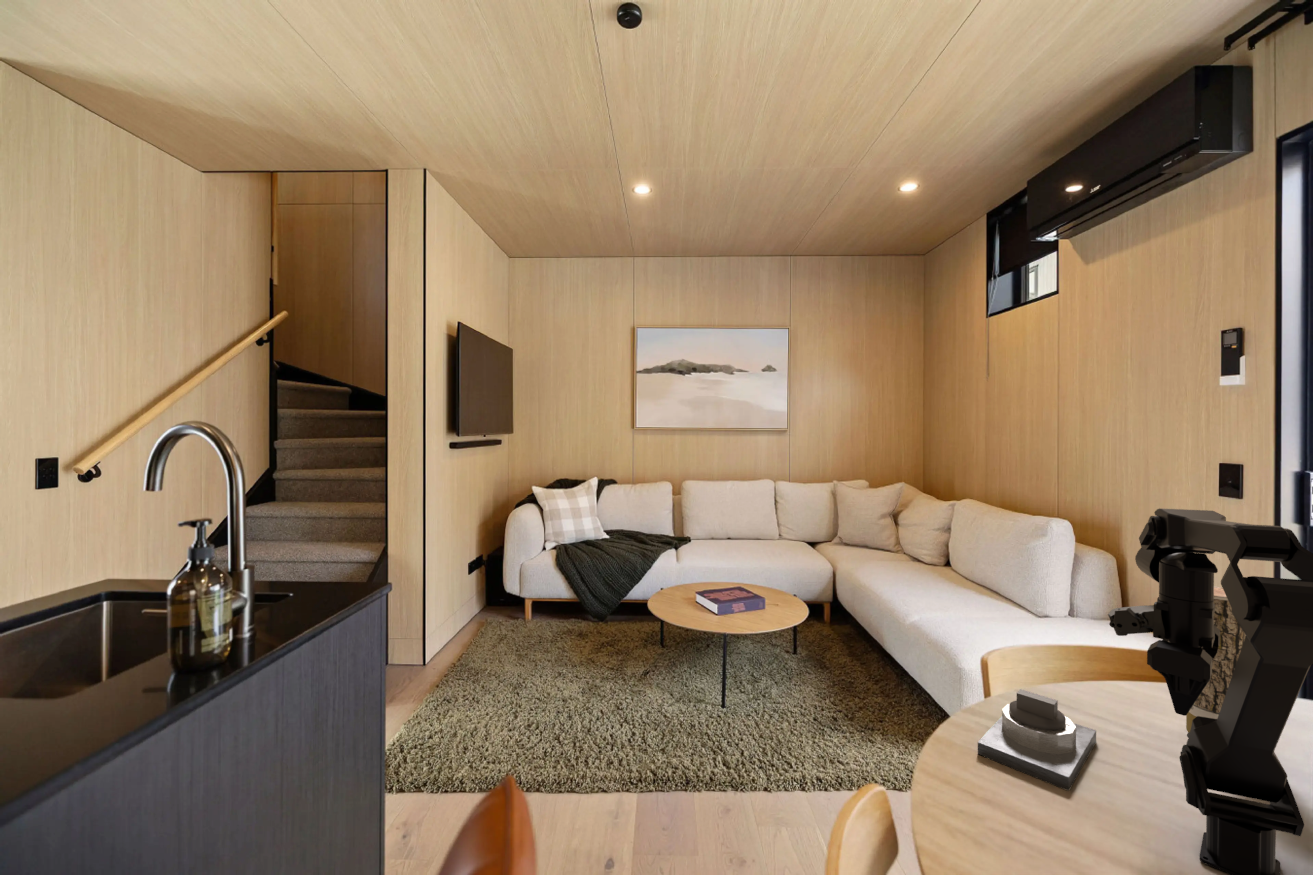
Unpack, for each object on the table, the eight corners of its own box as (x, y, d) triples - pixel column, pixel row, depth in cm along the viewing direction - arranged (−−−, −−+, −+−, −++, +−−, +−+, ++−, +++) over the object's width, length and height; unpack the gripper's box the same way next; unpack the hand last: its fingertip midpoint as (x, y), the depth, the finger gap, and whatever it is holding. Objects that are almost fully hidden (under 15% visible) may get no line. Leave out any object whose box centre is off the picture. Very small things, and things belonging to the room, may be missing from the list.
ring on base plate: (1068, 790, 79) (1068, 756, 79) (977, 754, 88) (977, 723, 88) (1096, 741, 91) (1096, 712, 91) (1013, 714, 100) (1013, 687, 100)
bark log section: (1195, 745, 90) (1196, 594, 90) (1179, 724, 96) (1180, 583, 96) (1252, 756, 87) (1254, 599, 86) (1232, 734, 93) (1234, 588, 92)
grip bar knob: (1058, 753, 85) (1058, 713, 84) (1002, 733, 90) (1002, 695, 90) (1070, 734, 90) (1071, 697, 89) (1017, 716, 95) (1017, 681, 95)
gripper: (1125, 572, 91) (1124, 665, 92) (1100, 597, 79) (1100, 704, 79) (1220, 587, 83) (1219, 689, 83) (1210, 617, 71) (1209, 736, 71)
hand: (1184, 702), depth 80 cm, fingers open, 9 cm apart
